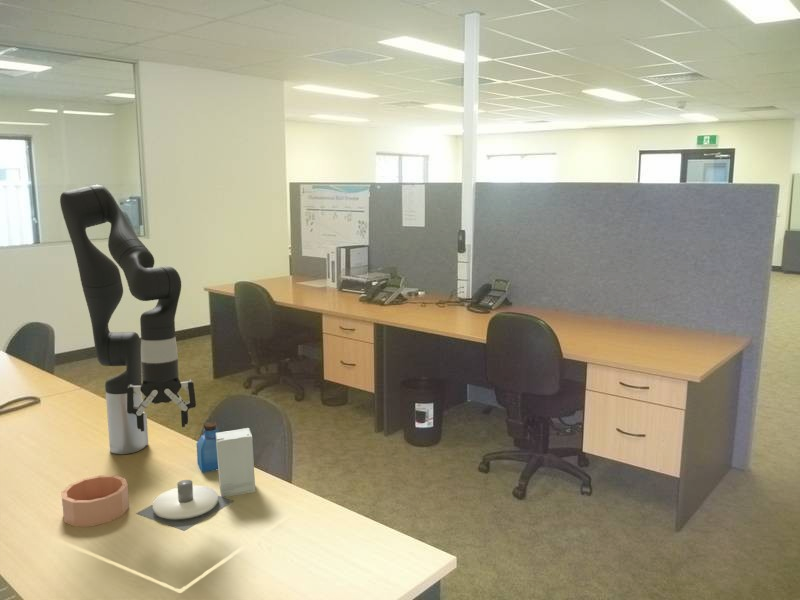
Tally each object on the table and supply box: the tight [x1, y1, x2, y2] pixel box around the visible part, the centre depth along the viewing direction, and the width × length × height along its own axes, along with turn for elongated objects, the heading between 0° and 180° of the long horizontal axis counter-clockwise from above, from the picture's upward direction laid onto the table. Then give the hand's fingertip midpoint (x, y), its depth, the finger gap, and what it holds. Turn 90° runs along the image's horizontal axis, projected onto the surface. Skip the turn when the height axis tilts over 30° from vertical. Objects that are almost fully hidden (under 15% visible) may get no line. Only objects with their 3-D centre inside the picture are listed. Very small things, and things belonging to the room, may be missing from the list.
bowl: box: [60, 474, 130, 527], centre depth 139 cm, size 13×13×6 cm
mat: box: [135, 495, 235, 532], centre depth 142 cm, size 15×15×1 cm
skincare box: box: [216, 427, 256, 498], centre depth 149 cm, size 8×6×15 cm
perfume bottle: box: [196, 421, 218, 474], centre depth 163 cm, size 6×6×12 cm
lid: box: [152, 479, 219, 519], centre depth 141 cm, size 14×14×6 cm
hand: (163, 428), depth 140 cm, fingers open, 8 cm apart
